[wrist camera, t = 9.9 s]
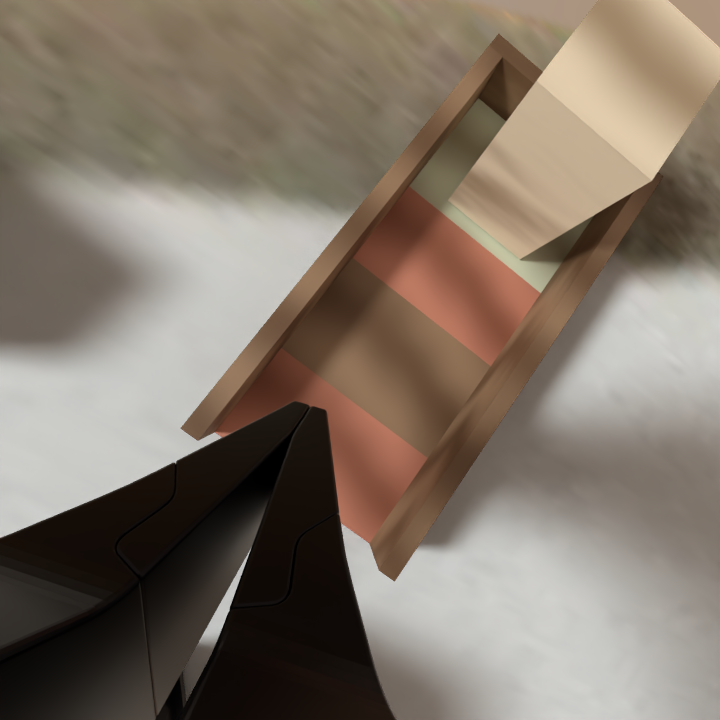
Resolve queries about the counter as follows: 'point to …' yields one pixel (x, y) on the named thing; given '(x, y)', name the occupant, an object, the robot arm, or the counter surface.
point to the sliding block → (592, 123)
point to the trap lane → (418, 323)
